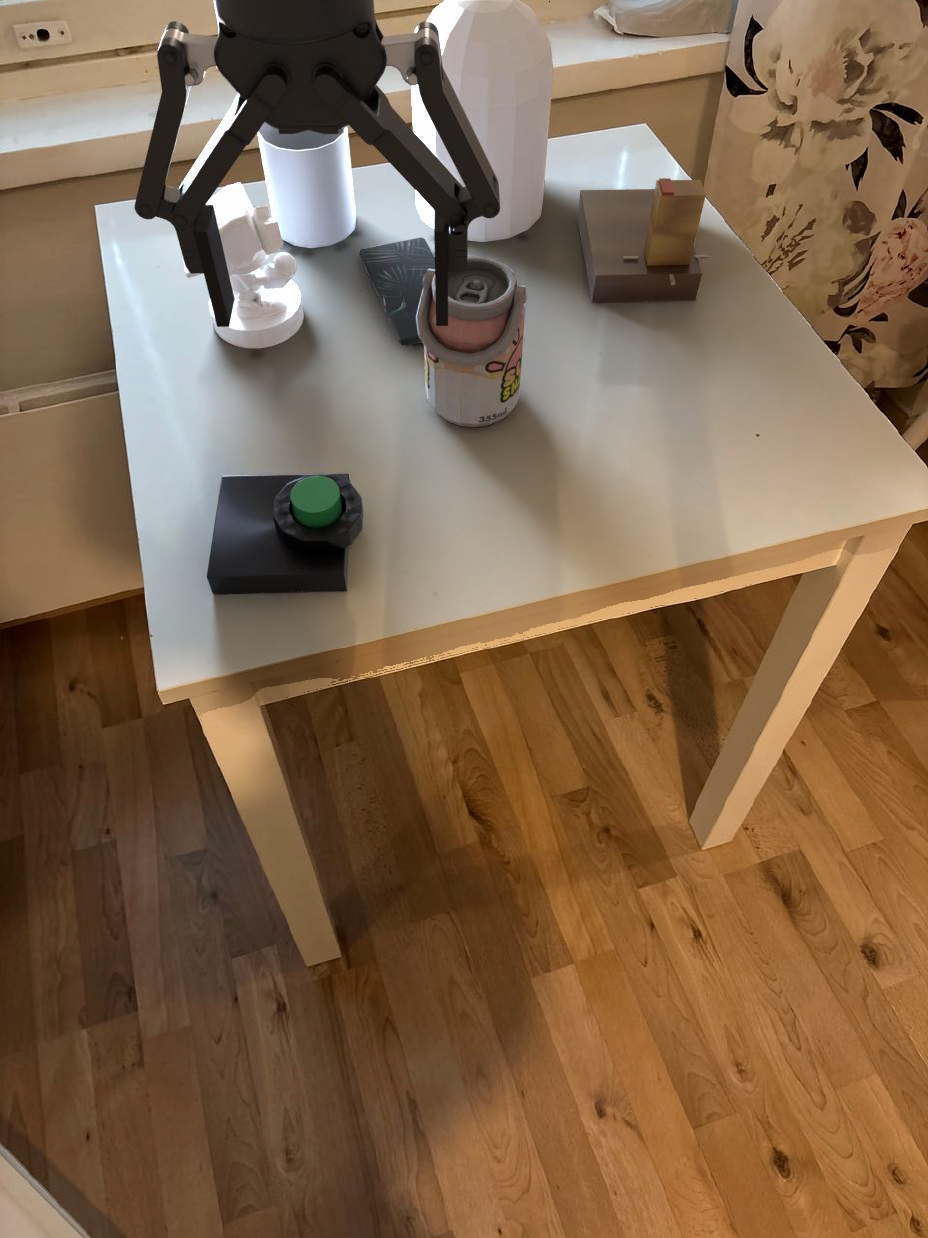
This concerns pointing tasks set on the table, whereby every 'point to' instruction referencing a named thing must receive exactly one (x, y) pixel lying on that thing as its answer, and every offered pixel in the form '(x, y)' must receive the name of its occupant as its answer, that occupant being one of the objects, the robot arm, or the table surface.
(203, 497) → the table surface
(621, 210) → the plate
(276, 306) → the character figurine
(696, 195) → the tan wooden block
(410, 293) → the smartphone
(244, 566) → the box
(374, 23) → the robot arm
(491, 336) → the beverage can
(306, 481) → the open button
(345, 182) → the cup
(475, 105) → the container
